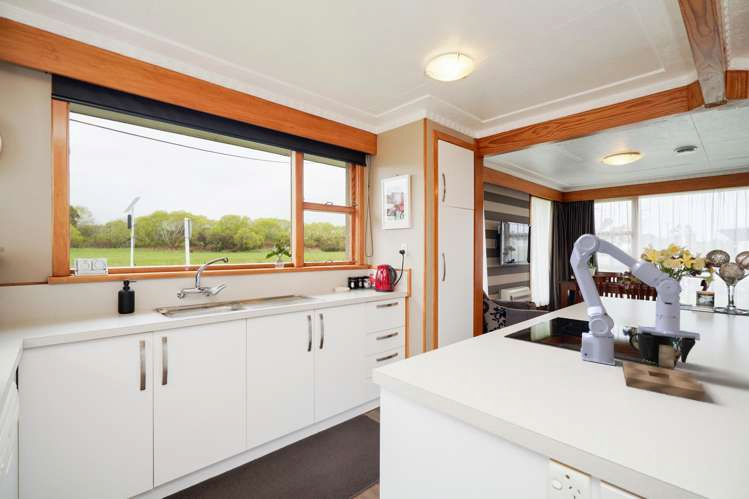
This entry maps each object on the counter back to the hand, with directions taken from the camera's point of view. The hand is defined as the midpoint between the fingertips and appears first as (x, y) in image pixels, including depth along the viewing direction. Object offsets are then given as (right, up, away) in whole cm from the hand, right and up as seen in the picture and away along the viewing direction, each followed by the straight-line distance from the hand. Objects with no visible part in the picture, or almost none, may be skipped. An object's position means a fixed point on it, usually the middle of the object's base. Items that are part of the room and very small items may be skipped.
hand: (666, 359), depth 104 cm
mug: (+5, -5, +13) cm, 15 cm away
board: (-9, -4, -8) cm, 13 cm away
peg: (0, -5, 0) cm, 5 cm away
